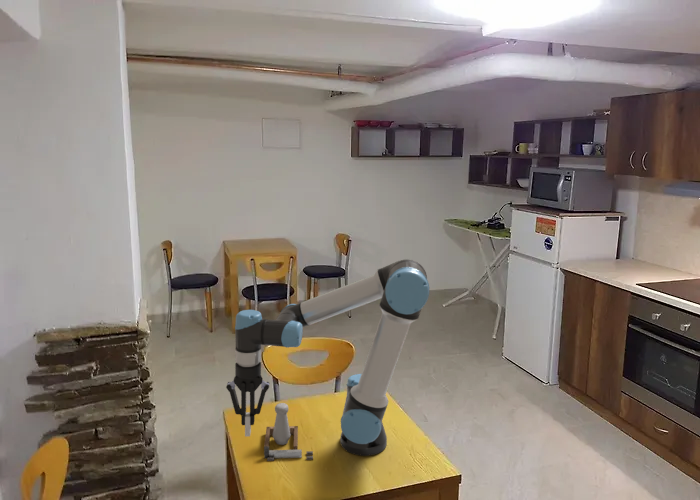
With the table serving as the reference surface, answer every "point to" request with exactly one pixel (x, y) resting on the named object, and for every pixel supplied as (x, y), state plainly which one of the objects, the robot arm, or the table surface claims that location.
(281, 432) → the salt shaker
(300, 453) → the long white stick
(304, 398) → the table surface
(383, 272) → the robot arm
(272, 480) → the table surface
